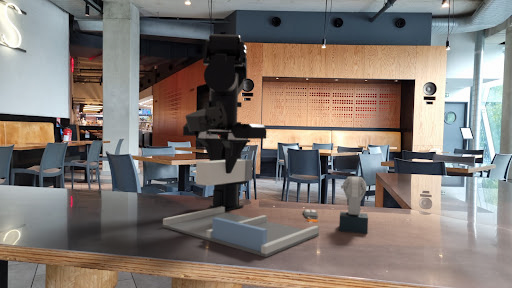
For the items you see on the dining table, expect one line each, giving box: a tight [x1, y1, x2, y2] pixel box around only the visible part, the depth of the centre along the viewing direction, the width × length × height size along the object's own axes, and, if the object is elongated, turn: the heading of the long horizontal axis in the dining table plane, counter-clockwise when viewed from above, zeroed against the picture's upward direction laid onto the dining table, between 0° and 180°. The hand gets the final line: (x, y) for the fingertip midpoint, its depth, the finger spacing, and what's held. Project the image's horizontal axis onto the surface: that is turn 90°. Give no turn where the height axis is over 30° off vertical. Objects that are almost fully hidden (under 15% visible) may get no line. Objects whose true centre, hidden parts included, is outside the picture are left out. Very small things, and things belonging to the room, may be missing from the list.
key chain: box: [302, 209, 319, 224], centre depth 86 cm, size 13×4×2 cm, turn 177°
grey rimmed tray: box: [162, 206, 320, 258], centre depth 74 cm, size 17×26×4 cm, turn 51°
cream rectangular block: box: [195, 158, 253, 187], centre depth 78 cm, size 13×4×4 cm, turn 141°
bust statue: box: [338, 175, 369, 234], centre depth 78 cm, size 6×8×11 cm
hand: (221, 172), depth 78 cm, fingers closed on cream rectangular block, 3 cm apart
